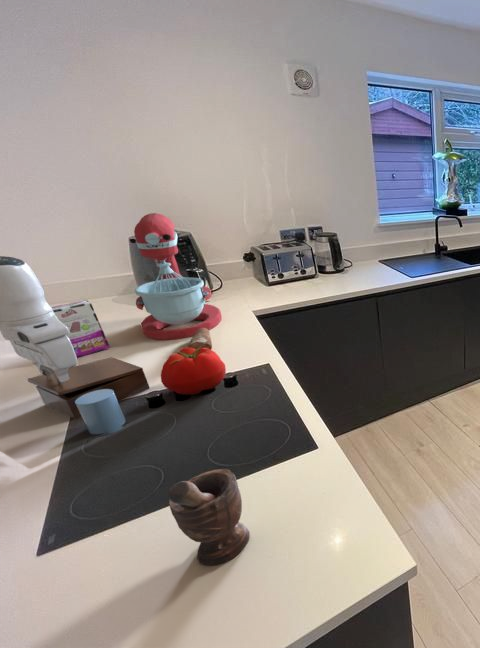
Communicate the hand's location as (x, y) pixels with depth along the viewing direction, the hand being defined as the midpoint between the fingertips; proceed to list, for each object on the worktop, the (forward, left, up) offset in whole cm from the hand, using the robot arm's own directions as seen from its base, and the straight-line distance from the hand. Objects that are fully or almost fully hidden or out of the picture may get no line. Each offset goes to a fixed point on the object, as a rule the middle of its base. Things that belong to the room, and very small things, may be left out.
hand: (56, 377), depth 98 cm
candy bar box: (+18, +36, -10) cm, 41 cm away
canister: (0, -17, -10) cm, 19 cm away
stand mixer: (+46, +33, -10) cm, 57 cm away
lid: (+5, 0, -2) cm, 6 cm away
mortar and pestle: (-10, -74, -10) cm, 75 cm away
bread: (+36, +8, -10) cm, 38 cm away
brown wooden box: (+6, 0, -10) cm, 11 cm away
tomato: (+20, -18, -10) cm, 28 cm away
